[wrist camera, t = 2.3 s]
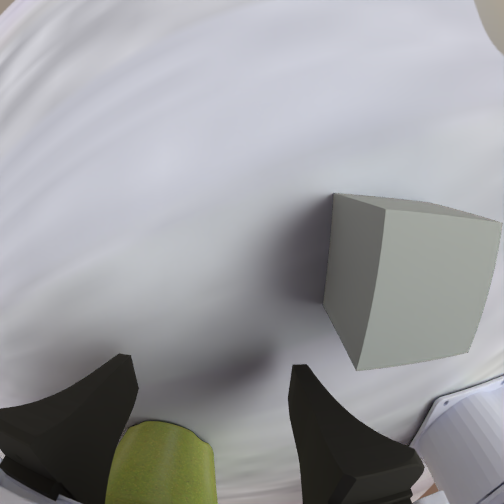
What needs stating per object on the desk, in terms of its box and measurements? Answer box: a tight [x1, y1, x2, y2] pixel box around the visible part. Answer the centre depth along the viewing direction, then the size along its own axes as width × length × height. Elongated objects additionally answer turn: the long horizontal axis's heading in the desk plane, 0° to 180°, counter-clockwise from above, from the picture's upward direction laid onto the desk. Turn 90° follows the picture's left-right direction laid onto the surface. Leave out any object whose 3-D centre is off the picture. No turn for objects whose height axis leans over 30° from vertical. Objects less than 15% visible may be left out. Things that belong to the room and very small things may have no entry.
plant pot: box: [105, 421, 218, 504], centre depth 12 cm, size 9×9×9 cm
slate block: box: [323, 193, 503, 371], centre depth 10 cm, size 5×5×5 cm
